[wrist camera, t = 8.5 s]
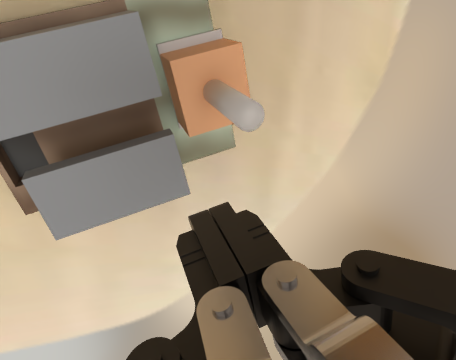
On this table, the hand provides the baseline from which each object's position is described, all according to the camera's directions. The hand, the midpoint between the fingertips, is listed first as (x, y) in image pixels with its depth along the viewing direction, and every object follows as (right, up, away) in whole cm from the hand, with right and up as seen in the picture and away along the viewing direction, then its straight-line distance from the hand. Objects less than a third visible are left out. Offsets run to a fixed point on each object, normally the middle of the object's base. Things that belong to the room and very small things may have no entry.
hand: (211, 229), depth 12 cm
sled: (-2, +11, +20) cm, 23 cm away
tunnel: (-12, +8, +18) cm, 23 cm away
